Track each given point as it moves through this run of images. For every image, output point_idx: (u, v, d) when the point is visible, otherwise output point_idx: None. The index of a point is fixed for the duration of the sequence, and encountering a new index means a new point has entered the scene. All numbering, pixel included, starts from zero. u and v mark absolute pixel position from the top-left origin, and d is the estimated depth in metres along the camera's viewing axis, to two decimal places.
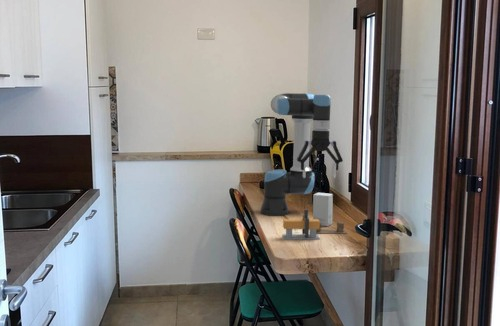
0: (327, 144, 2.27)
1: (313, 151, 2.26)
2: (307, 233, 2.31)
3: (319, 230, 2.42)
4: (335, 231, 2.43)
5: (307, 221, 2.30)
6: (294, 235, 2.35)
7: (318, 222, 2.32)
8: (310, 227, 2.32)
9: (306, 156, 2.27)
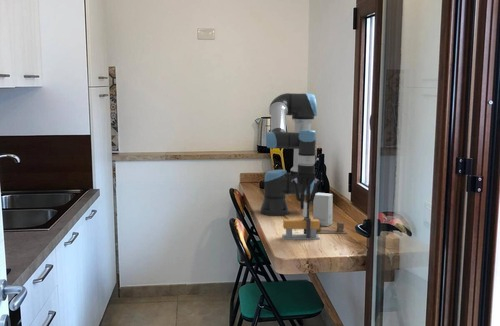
0: (312, 178, 2.30)
1: (304, 187, 2.29)
2: (308, 233, 2.31)
3: (319, 230, 2.42)
4: (335, 231, 2.43)
5: (309, 221, 2.30)
6: (294, 235, 2.35)
7: (318, 222, 2.32)
8: (310, 227, 2.32)
9: (302, 195, 2.30)
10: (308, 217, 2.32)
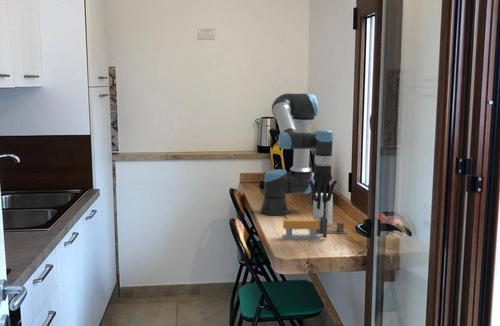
0: (328, 178, 2.30)
1: (320, 187, 2.30)
2: (325, 233, 2.31)
3: (319, 230, 2.42)
4: (335, 231, 2.43)
5: (325, 221, 2.31)
6: (294, 235, 2.35)
7: (318, 222, 2.32)
8: (310, 227, 2.32)
9: (318, 195, 2.31)
10: (325, 217, 2.33)
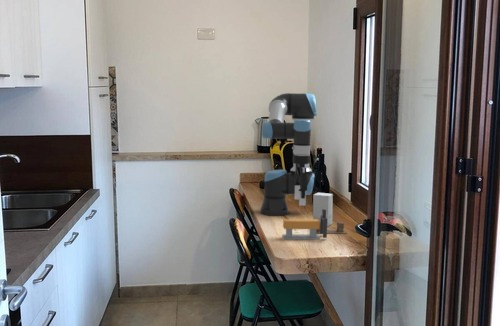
0: (299, 169, 2.27)
1: (296, 174, 2.33)
2: (325, 233, 2.31)
3: (319, 230, 2.42)
4: (335, 231, 2.43)
5: (325, 221, 2.31)
6: (294, 235, 2.35)
7: (318, 222, 2.32)
8: (310, 227, 2.32)
9: (295, 178, 2.36)
10: (325, 217, 2.33)
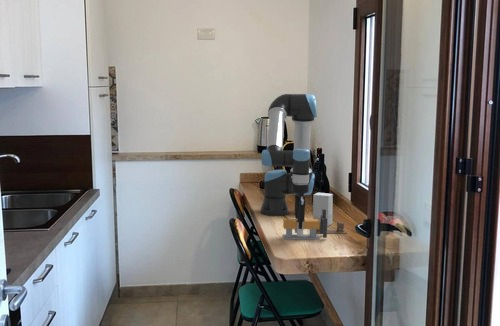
0: (298, 198, 2.29)
1: (295, 204, 2.34)
2: (325, 233, 2.31)
3: (319, 230, 2.42)
4: (335, 231, 2.43)
5: (325, 221, 2.31)
6: (294, 235, 2.35)
7: (318, 222, 2.32)
8: (310, 227, 2.32)
9: (295, 211, 2.36)
10: (325, 217, 2.33)
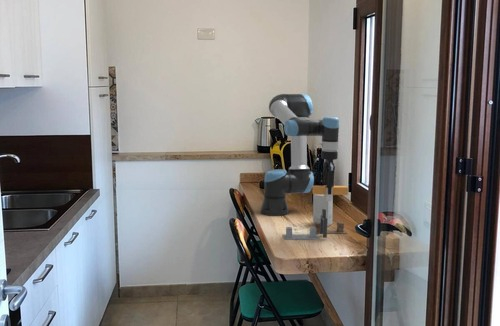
0: (328, 164, 2.37)
1: (324, 171, 2.42)
2: (325, 233, 2.31)
3: (319, 230, 2.42)
4: (335, 231, 2.43)
5: (325, 221, 2.31)
6: (294, 235, 2.35)
7: (346, 188, 2.40)
8: (339, 193, 2.40)
9: (324, 177, 2.44)
10: (325, 217, 2.33)
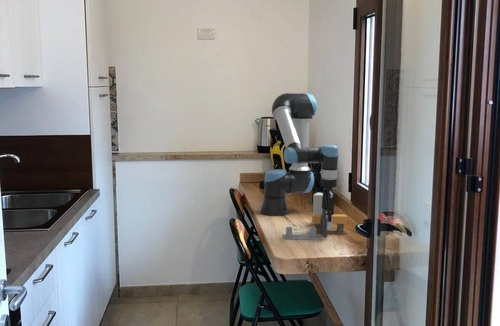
0: (327, 192, 2.39)
1: (323, 198, 2.44)
2: (325, 233, 2.31)
3: (319, 230, 2.42)
4: (335, 231, 2.43)
5: (325, 221, 2.31)
6: (294, 235, 2.35)
7: (345, 217, 2.42)
8: (338, 222, 2.42)
9: (323, 203, 2.46)
10: (325, 217, 2.33)
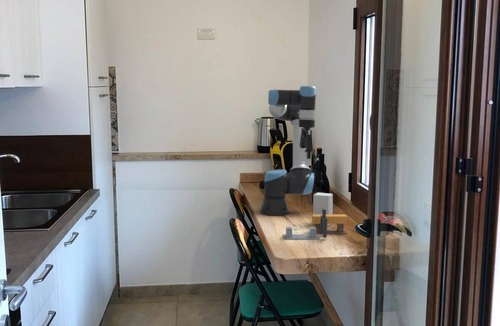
0: (305, 132, 2.41)
1: (301, 138, 2.47)
2: (325, 233, 2.31)
3: (319, 230, 2.42)
4: (335, 231, 2.43)
5: (325, 221, 2.31)
6: (294, 235, 2.35)
7: (345, 217, 2.42)
8: (338, 222, 2.42)
9: (301, 142, 2.51)
10: (325, 217, 2.33)
